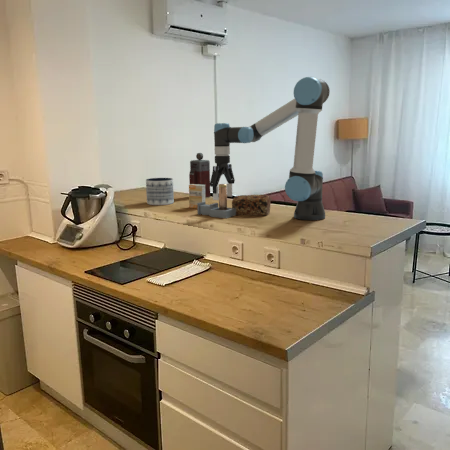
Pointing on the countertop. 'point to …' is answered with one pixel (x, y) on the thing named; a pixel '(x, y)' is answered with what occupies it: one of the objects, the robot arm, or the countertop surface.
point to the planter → (159, 191)
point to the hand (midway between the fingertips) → (222, 198)
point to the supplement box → (196, 195)
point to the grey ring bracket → (215, 210)
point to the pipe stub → (222, 196)
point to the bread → (251, 204)
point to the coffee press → (200, 173)
